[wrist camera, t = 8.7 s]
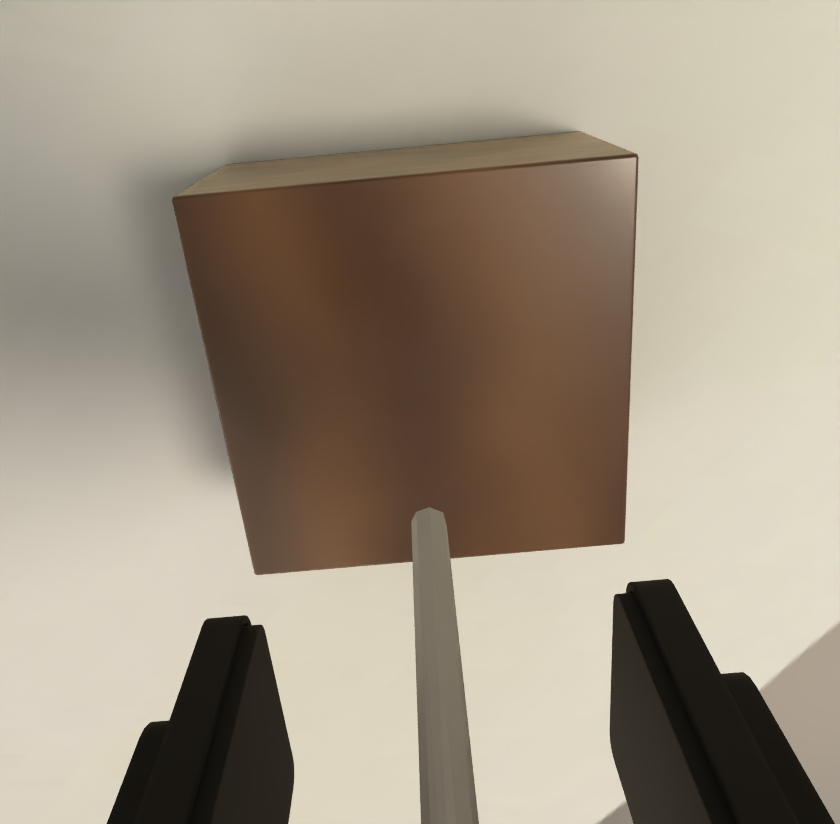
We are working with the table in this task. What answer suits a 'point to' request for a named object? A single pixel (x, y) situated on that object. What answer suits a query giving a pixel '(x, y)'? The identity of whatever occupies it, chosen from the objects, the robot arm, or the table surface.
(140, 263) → the table surface
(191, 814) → the robot arm
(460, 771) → the lollipop
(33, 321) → the table surface
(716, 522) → the table surface
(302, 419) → the walnut block
